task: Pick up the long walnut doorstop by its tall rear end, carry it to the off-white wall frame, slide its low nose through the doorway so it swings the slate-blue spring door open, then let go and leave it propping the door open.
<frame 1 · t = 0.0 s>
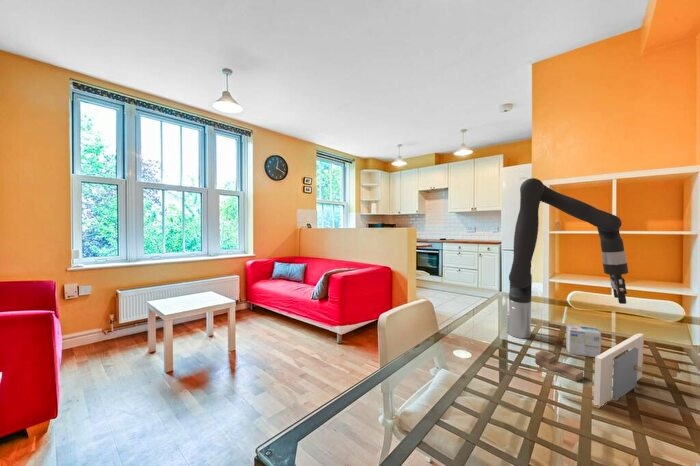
hand: (620, 300, 120), 22 cm above the table, tool pointing down, fingers open, 8 cm apart
door: (628, 374, 95), point 7 cm above the table, hinge at 0.0°
light bulb box: (582, 353, 123), on the table
doorstop: (558, 370, 110), on the table
wall frame: (619, 390, 97), on the table
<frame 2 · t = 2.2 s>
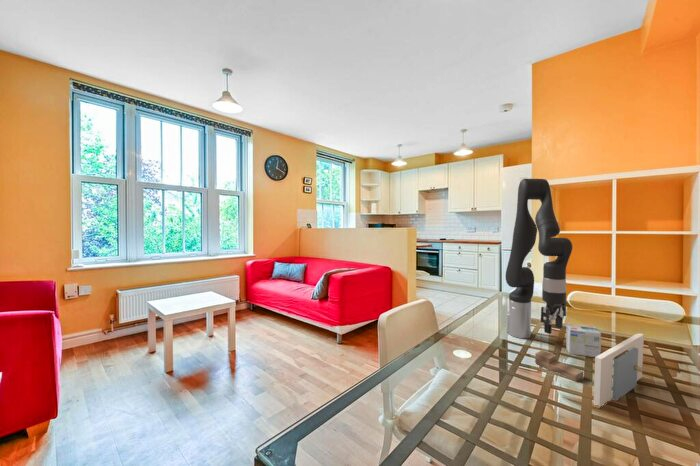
hand: (553, 330, 112), 14 cm above the table, tool pointing down, fingers open, 8 cm apart
nothing on the table moved.
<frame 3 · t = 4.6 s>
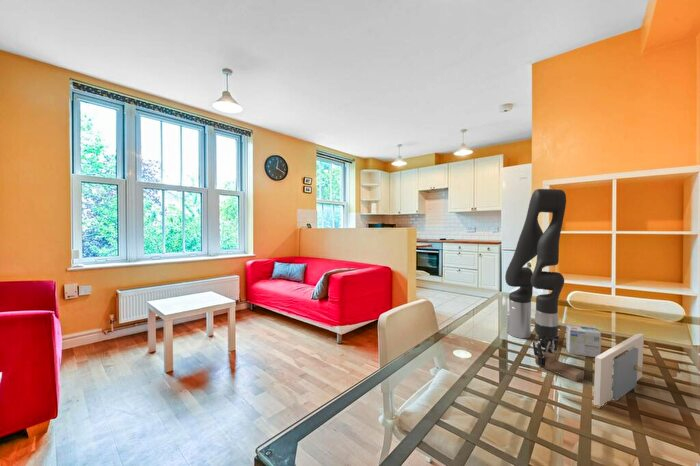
hand: (545, 363, 114), 1 cm above the table, tool pointing down, fingers closed on doorstop, 5 cm apart
doorstop: (558, 370, 110), on the table, touching gripper
everything else where it was.
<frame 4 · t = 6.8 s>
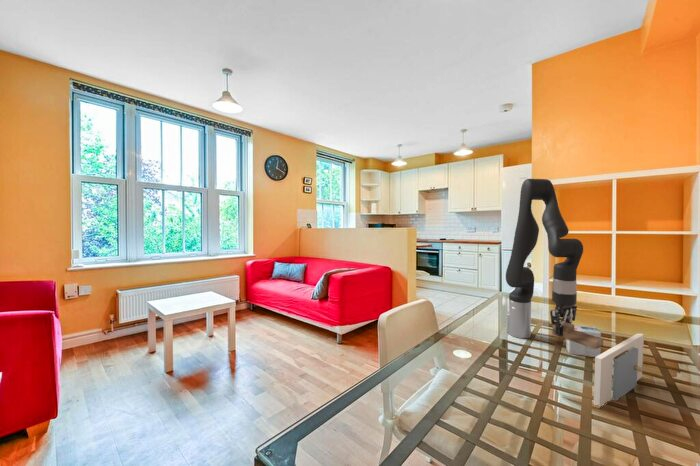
hand: (563, 333, 112), 13 cm above the table, tool pointing down, fingers closed on doorstop, 5 cm apart
doorstop: (576, 339, 108), point 13 cm above the table, touching gripper
everything else where it was.
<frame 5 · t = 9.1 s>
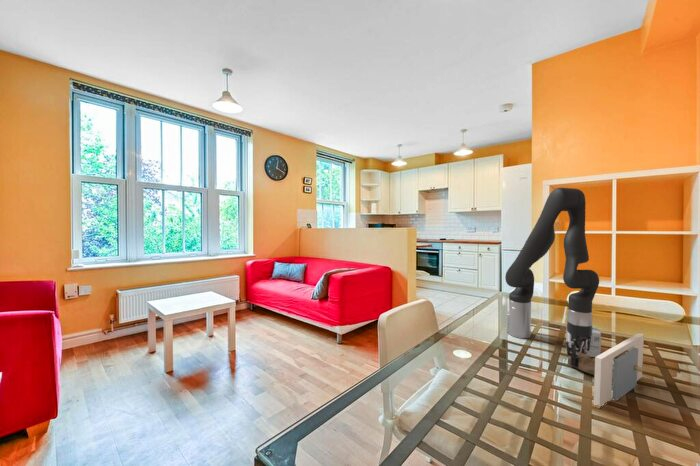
hand: (578, 364, 111), 2 cm above the table, tool pointing down, fingers closed on doorstop, 5 cm apart
doorstop: (592, 371, 107), point 1 cm above the table, touching gripper
everything else where it was.
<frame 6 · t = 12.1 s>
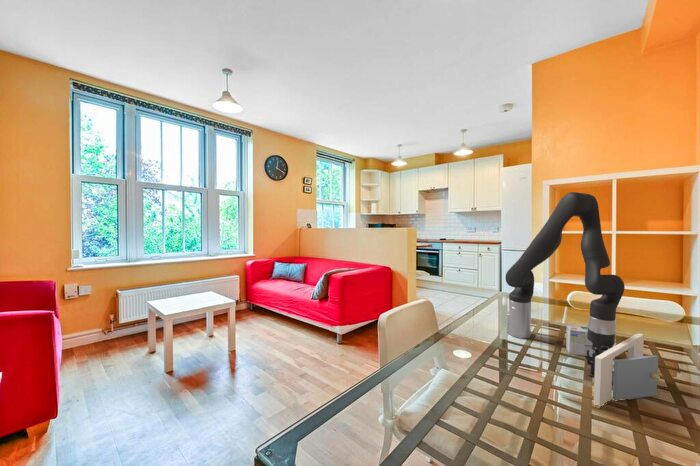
hand: (598, 373, 106), 1 cm above the table, tool pointing down, fingers closed on doorstop, 5 cm apart
door: (638, 379, 92), point 7 cm above the table, hinge at 19.7°, touching doorstop
doorstop: (614, 381, 102), on the table, touching door, gripper
everything else where it was.
when the fingers open (1 cm above the table, at t = 13.5 s): doorstop stays where it is, on the table.
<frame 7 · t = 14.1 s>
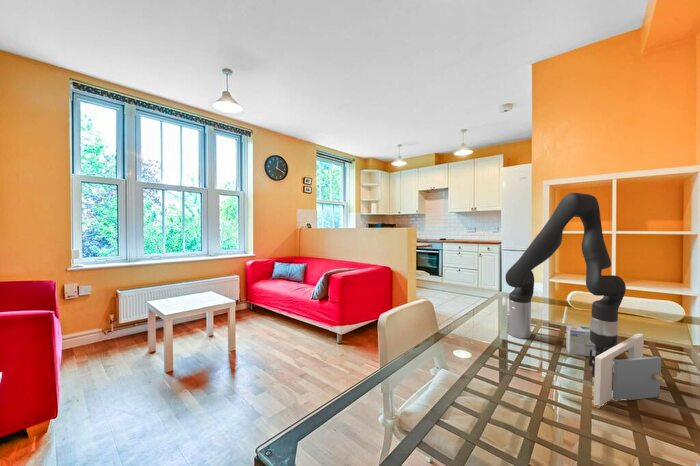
hand: (602, 373, 105), 2 cm above the table, tool pointing down, fingers open, 8 cm apart
door: (639, 380, 92), point 7 cm above the table, hinge at 22.7°
doorstop: (616, 383, 101), on the table
everything else where it was.
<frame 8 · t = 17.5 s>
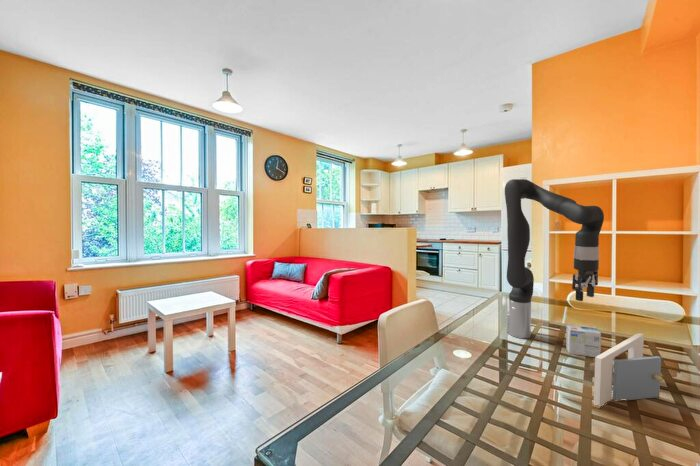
hand: (584, 298, 113), 26 cm above the table, tool pointing down, fingers open, 8 cm apart
nothing on the table moved.
at the end: door at +23° (first picture: +0°); the gripper is holding nothing; doorstop inside the target area (0.4 cm from its centre), on the table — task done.
